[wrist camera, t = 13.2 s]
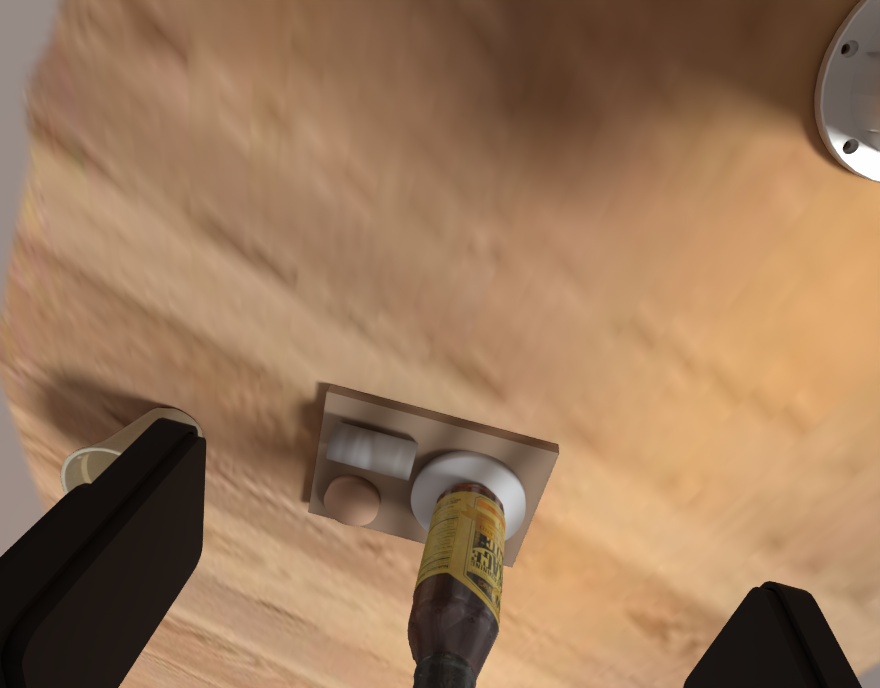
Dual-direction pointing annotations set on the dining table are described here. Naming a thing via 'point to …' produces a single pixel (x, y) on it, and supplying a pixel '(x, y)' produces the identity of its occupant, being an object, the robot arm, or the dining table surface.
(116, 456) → the flower pot
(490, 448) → the board
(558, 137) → the dining table surface
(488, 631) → the sauce bottle
